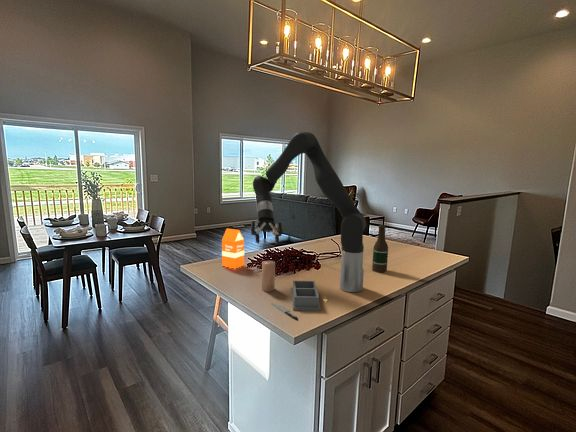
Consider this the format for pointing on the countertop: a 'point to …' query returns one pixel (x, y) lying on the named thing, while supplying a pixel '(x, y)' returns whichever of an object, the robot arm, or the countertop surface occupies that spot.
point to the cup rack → (305, 296)
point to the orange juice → (232, 249)
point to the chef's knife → (284, 310)
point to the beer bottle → (380, 252)
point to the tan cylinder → (268, 276)
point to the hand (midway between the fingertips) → (267, 243)
